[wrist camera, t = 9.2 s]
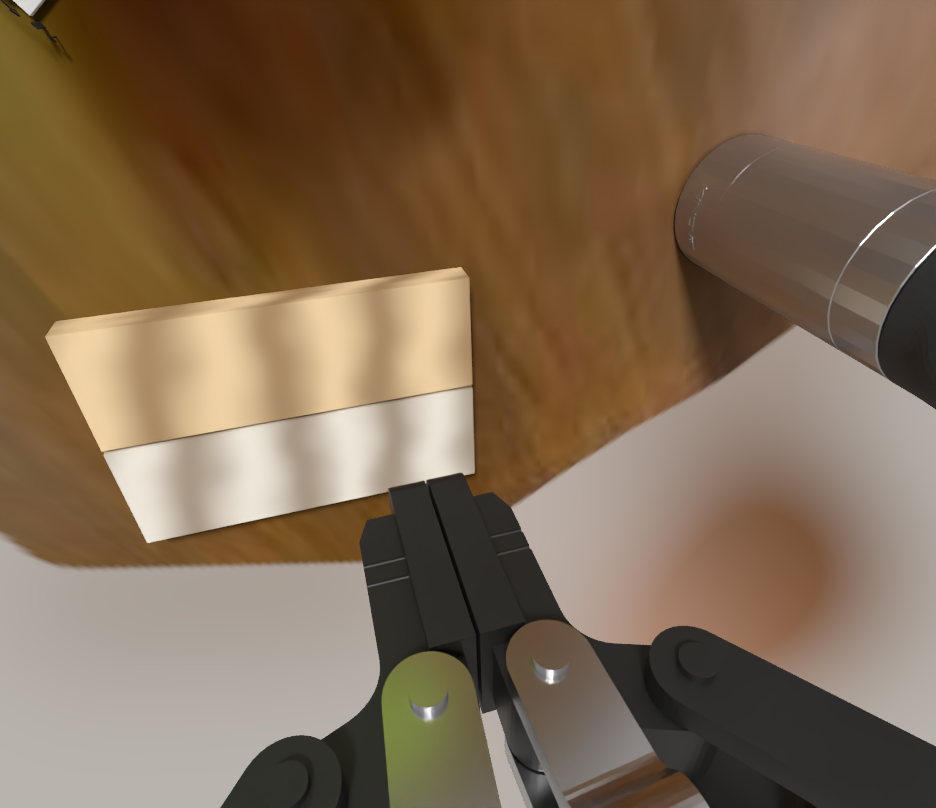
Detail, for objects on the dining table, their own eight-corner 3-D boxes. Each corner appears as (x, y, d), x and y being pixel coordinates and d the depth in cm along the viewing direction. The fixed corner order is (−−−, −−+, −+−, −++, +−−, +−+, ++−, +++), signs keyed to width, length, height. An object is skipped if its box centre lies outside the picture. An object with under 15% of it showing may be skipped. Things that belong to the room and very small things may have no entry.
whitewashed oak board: (464, 374, 43) (472, 388, 41) (467, 457, 48) (474, 473, 46) (110, 436, 38) (103, 455, 36) (151, 523, 42) (147, 543, 41)
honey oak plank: (460, 266, 38) (469, 277, 37) (464, 371, 43) (472, 385, 41) (55, 321, 33) (45, 336, 32) (108, 433, 38) (101, 451, 36)
